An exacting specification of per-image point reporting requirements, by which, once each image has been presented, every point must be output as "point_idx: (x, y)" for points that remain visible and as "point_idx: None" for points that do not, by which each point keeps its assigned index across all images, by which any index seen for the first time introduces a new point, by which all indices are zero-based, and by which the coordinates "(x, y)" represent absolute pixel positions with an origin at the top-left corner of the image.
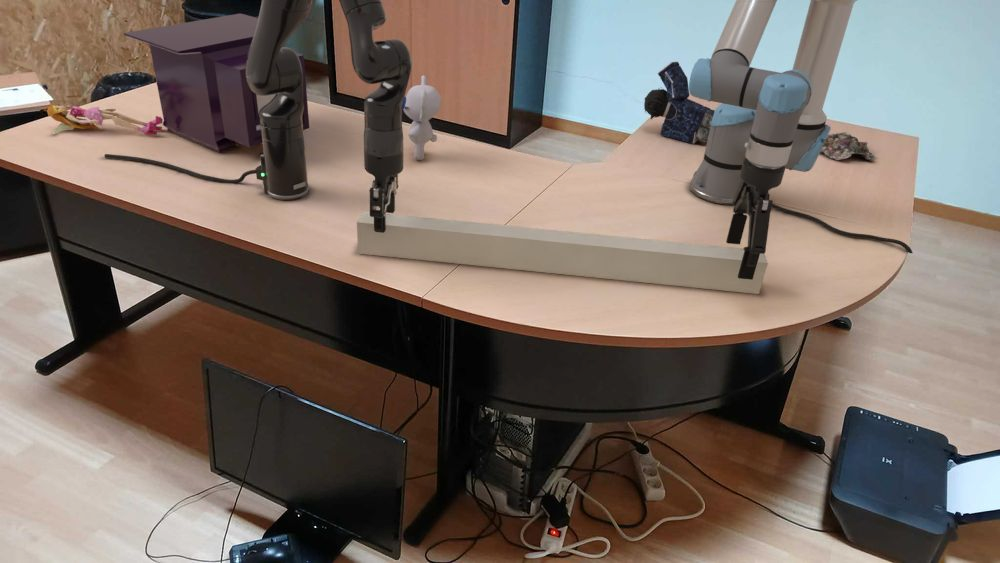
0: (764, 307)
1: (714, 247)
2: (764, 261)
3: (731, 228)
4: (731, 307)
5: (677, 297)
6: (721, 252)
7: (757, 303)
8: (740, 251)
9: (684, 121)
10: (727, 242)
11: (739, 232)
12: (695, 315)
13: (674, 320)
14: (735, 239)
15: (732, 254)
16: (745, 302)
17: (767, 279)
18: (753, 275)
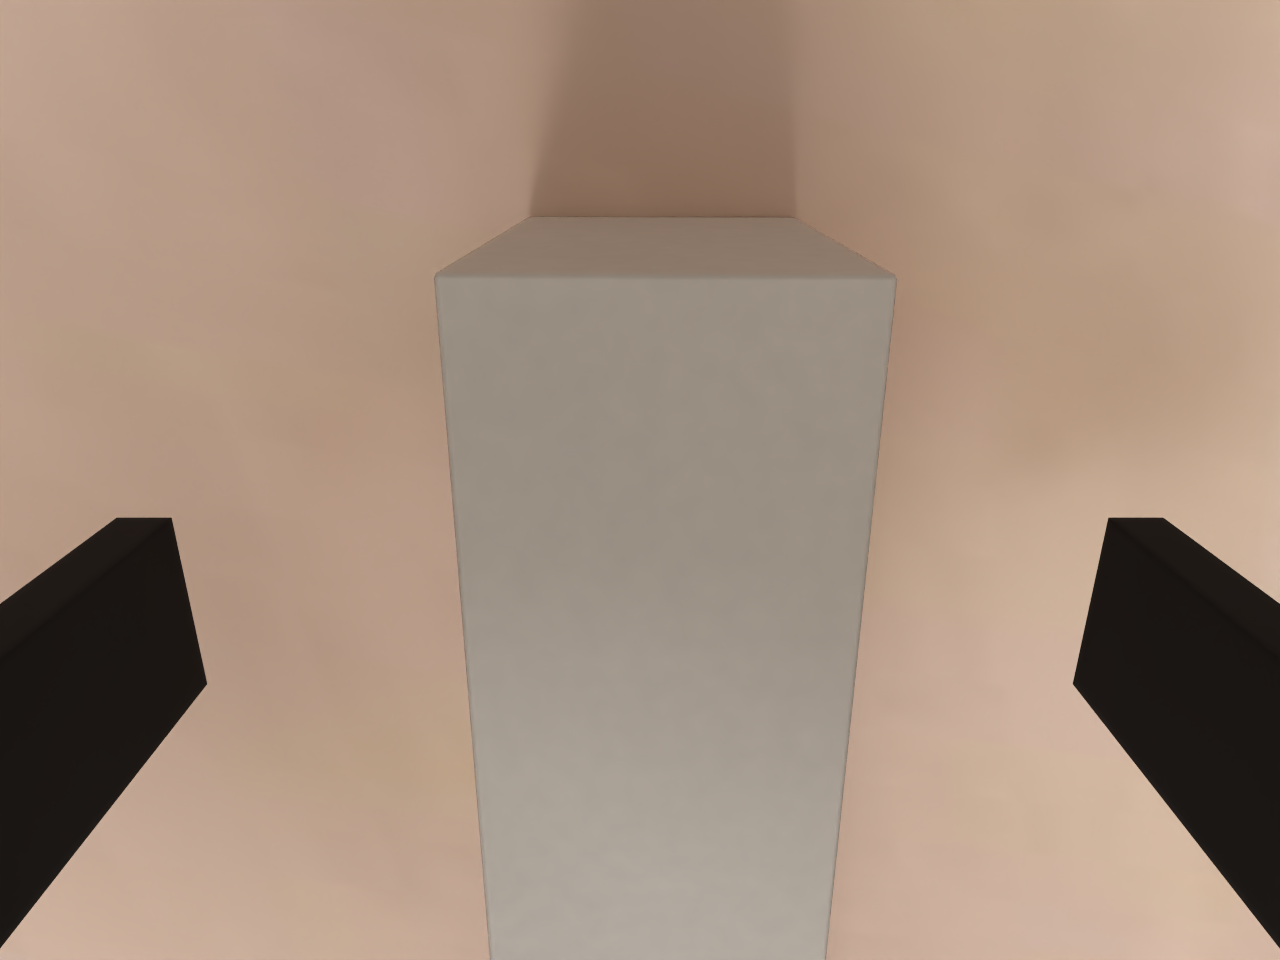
0: (1053, 209)
1: (543, 948)
2: (852, 331)
3: (57, 855)
4: (1059, 537)
5: (923, 906)
6: (668, 893)
7: (978, 270)
8: (571, 650)
9: None
10: (199, 686)
11: (60, 679)
12: (1180, 822)
13: (1240, 954)
14: (145, 630)
15: (697, 773)
16: (965, 392)
17: (437, 31)
18: (1201, 551)
